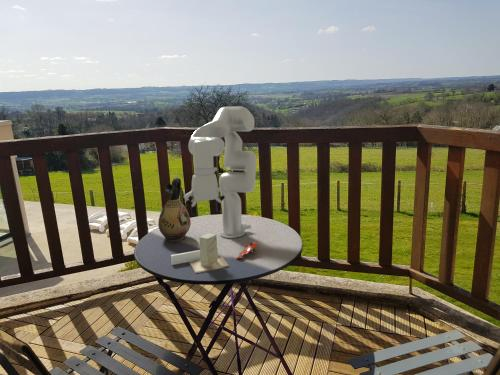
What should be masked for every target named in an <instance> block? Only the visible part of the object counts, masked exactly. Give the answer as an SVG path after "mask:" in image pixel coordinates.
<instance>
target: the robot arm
mask: <svg viewBox="0 0 500 375" xmlns="http://www.w3.org/2000/svg"><path fill="white" fill-rule="evenodd" d="M254 128H255V118H254V115H253V114H252V112H250V110H249V109H248V108H246V107H244V106H240V105H239V106H238V105H237V106H222V107H220V108H219V109H218V110H217V112H216V114H215V115H214V117H213V119H212V120H211V121H210V122H208V123H206V124H204V125H203V126H200V127H198V128H197V129H196V130H195V131H194V132H193V134H192V135H191V136H190V138H189V141H188V151H189V153H190V154H191V155H193V170H194V172H193V173H194V174H193V175H192V178H191V190H190V191H189V192H187V193H185V194H184V195H183V198H184V200H185V201H186V203H187V204H188V205H190V211H191V215H192V216H194V217H196V216H197V207H196V205H197V203H198V202H205V201H206V202H207V201H213V200H215V211H216V212H217V213H218V214H219V213H221V216H222V229H221V230H220V231H219V235H220V236H221V237H223V238H226V239H237V237H238V238H240V237H243V236H244V235H245V234H246V231H245V230H246V229H252V228H251V227H252V226H251V224H246V223H244V224H243V223H242V222H243V221H242V199H241V197H240V195H239V193H252V192H254V190H255V187H256V175H257V173H256V172H257V156H256V154H255V152H254V151H251V150H243V139H242V138H241V137H240V135H239V134H238V133H237V132H251V131H253V130H254ZM223 138H224V139H223ZM223 153H224V155H223V156H224V158H223V165H224V167H225V169H227V170H229V171H228V172H223V173H222V174H221V175H219V179H218V180H217V176H216V174H215V172H218V167H215V166H214V157H218V156H220V155H222V154H223ZM232 171H233V172H232ZM234 171H245V172H234ZM218 185H219V186H218ZM219 193H220V195H219ZM190 197H191V198H192V199H191V200H190V199H189V198H190ZM221 210H222V211H221Z"/></svg>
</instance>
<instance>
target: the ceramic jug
mask: <svg viewBox="0 0 500 375" xmlns="http://www.w3.org/2000/svg"><path fill="white" fill-rule="evenodd" d="M172 179H173V180H171V184H170V183H166V184H165V185H164V191H165V192H166V193H167V194H168V193H169V194H170V195H169V196H170V197H169V198H168V200H167V201H166V202H165V204H164V206H163V208H162V210H161V211H160V213H159V216H158V217H159V218H158V222H157V225H158V229H159V232H160V234H161V235H162V236H163V237H164V240H165V241H166V242H169V243H171V242H172V243H174V242H175V243H176V242H180V241H182V240H184V239H185V236H186V235H187V234H188V232H189V230H190V229H191V224H192V223H191V217H190V214H189V211H188V210H187V208H186V207H185V205H184V204H183V203H182V201H181V200H180V194H181V189H182V188H181V187H182V180H181V178H180V177H176V178H172Z"/></svg>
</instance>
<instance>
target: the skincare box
mask: <svg viewBox="0 0 500 375" xmlns="http://www.w3.org/2000/svg"><path fill="white" fill-rule="evenodd" d="M198 240H199V250H200V258H201V265H204V266H208V267H209V266H211V265H213V264H214V263H216V262H218V258H217V257H218V256H217V248H218V242H217V234H216V233H212V232H207V233H205V234H203V235H201V236H199V239H198Z"/></svg>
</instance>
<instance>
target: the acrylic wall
mask: <svg viewBox="0 0 500 375" xmlns="http://www.w3.org/2000/svg"><path fill="white" fill-rule="evenodd" d="M218 252H219V250H218V247H217V257H218V256H219V253H218ZM170 259H171V262H170V263H171V265H172V266H174V265H180V264H184V263H189V262H192V261H197V260H201V258H200V249H198V250H192V251H187V252H182V253H175V254H171V255H170Z"/></svg>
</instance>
